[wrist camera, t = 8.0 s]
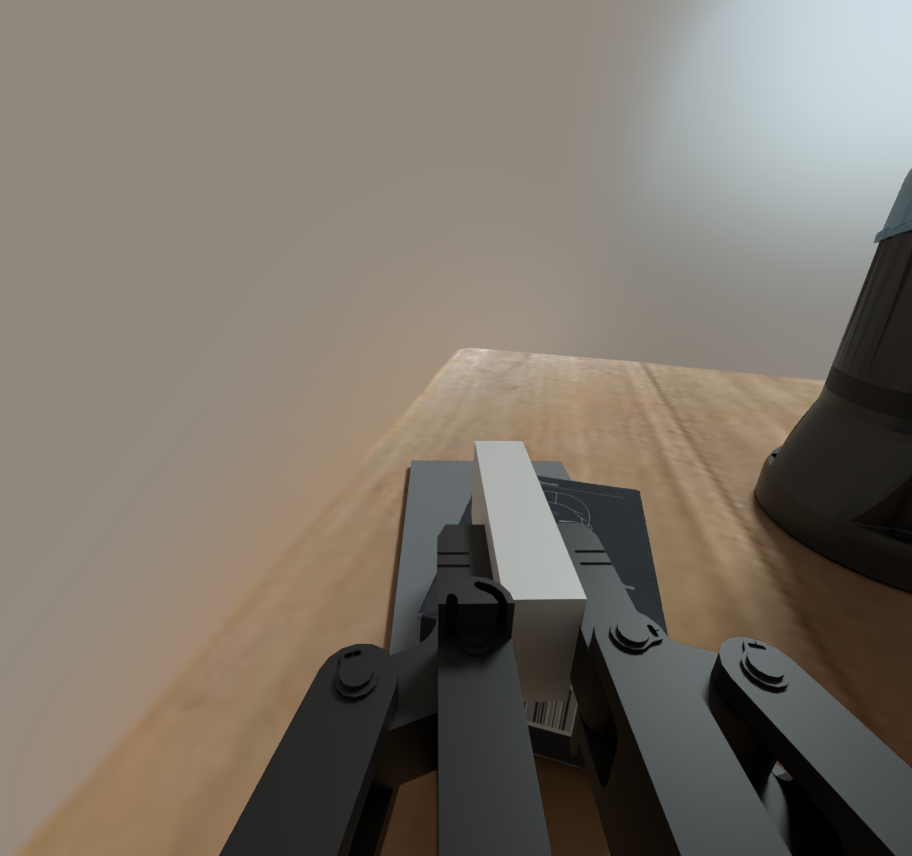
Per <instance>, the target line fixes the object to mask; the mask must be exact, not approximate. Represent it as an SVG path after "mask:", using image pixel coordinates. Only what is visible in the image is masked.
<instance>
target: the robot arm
mask: <svg viewBox="0 0 912 856" xmlns="http://www.w3.org/2000/svg"><path fill="white" fill-rule="evenodd" d="M877 242H879V245H878V248H877V250H876V253H875V256H874V258H873V261H872V263H871V266H870V269H869V271H868V274H867V276H866V279H865V281H864V284H863V287H862V289H861V292H860V294H859V297H858V299H857V302H856V305H855V307H854V310H853V312H852V315H851V318H850V320H849V323H848V325H847V328H846V330H845V333H844V336H843V338H842V341H841V343H840V346H839V348H838V351H837V353H836V356H835V359H834V362H833V364H832V367H831V370H830V372H829V375H828V377H827V380H826V382H825V385H824V387H823V390H822V392H821V394H820V396H819V398H818V399H817V400H816V402H815V403H814V404H813V405H812V406H811V408H810V409H809V410H808V411H807V412H806V414H805V415H804V416H803V417H802V418H801V420H800V421H799V422H798V424H797V425H796V426H795V427H794V429H793V430H792V431H791V433H790V434H789V436H788V437H787V439H786V440H785V442H784V444H783V446H781V447H779V448H777V449H775V450H774V451H773V452H772V453H771V454H770V455H769V456H768V457H767V459H766V461H765V462H764V464H763V467H762V470H761V473H760V476H759V479H758V482H757V485H756V489H755V492H756V497H757V499H758V501H759V503H760V505H761V506H762V508H763V509H764V510H765V512H766V513H767V514H768V515H769V516H770V517H771V518H772V519H773V520H774V521H775V522H776V523H777V524H779V525H780V526H781V527H782V528H784V529H785V530H786V531H787V532H789V533H790V534H791V535H793V536H794V537H796V538H797V539H799V540H800V541H802V542H803V543H805V544H807V545H808V546H810V547H812V548H813V549H815V550H817V551H818V552H820V553H822V554H824V555H826V556H828V557H829V558H831V559H833V560H835V561H837V562H839V563H841V564H843V565H846V566H848V567H850V568H852V569H854V570H856V571H859V572H861V573H863V574H865V575H868V576H870V577H873V578H875V579H878V580H880V581H883V582H886V583H888V584H891V585H894V586H896V587H899V588H902V589H905V590H908V591H911V592H912V169H911V170H910V171H909V173H908V175H907V176H906V178H905V180H904V182H903V184H902V187H901V189H900V191H899V193H898V196H897V198H896V200H895V203H894V205H893V207H892V209H891V212H890V214H889V216H888V219H887V221H886V224H885V225H884V228H883V230H882V231H880V232H878V234H877V235H876V237H875V241H874V243H877ZM471 515H472V524H445V526H444V528H443V529H442V531H441V532H440V534H439V535H438V537H437V621H436V625H435V627H434V629H433V631H432V633H431V634H430V635H429V636H428V637H427V638H426V639H425V640H424V641H423V642H421V643H420V644H419V645H417V646H415V647H413V648H410V649H408V650H406V651H402V652H399V653H396V654H393V655H390V654H389V653H388V652H387V651H386V650H385V649H383V648H380V647H378V646H375V645H373V644H355V645H352V646H349V647H345V648H342V649H341V650H339V651H338V652H336V653H335V654H333V655H332V656H330V657H329V658H328V659H327V661H326V662H325V663H324V664H323V666H322V667H321V668H320V669H319V671H318V673H317V675H316V677H315V679H314V680H313V682H312V684H311V686H310V688H309V690H308V692H307V693H306V695H305V697H304V699H303V701H302V703H301V705H300V706H299V708H298V710H297V712H296V714H295V716H294V718H293V719H292V721H291V723H290V725H289V727H288V729H287V730H286V732H285V734H284V736H283V738H282V740H281V742H280V743H279V745H278V747H277V749H276V751H275V753H274V755H273V756H272V758H271V760H270V762H269V764H268V766H267V768H266V769H265V771H264V773H263V775H262V777H261V779H260V781H259V782H258V784H257V786H256V788H255V790H254V792H253V794H252V795H251V797H250V799H249V801H248V803H247V805H246V807H245V808H244V810H243V812H242V814H241V816H240V818H239V819H238V821H237V823H236V825H235V827H234V829H233V831H232V832H231V834H230V836H229V838H228V840H227V842H226V844H225V845H224V847H223V849H222V851H221V853H220V855H219V856H380V854H381V850H382V847H383V843H384V839H385V836H386V832H387V829H388V825H389V822H390V818H391V814H392V811H393V807H394V804H395V800H396V797H397V793H398V789H399V786H400V785H402V784H404V783H406V782H409V781H411V780H413V779H416V778H418V777H420V776H423V775H425V774H427V773H430V772H432V771H434V770H436V792H437V856H552V852H551V847H550V842H549V836H548V831H547V826H546V820H545V815H544V810H543V804H542V799H541V794H540V788H539V783H538V778H537V772H536V767H535V762H534V756H533V751H532V745H531V740H530V735H529V729H528V724H527V719H526V713H525V708H524V703H523V702H547V701H568V696H569V691H570V686H571V684H572V687H573V691H574V694H575V697H576V701H577V704H578V706H577V711H576V716H575V721H574V725H573V730H572V735H571V740H570V751H571V755H577V750H578V746H579V743H580V746H581V750H582V754H583V757H584V761H585V764H586V768H587V772H588V775H589V779H590V783H591V786H592V790H593V793H594V797H595V801H596V804H597V808H598V811H599V815H600V819H601V822H602V826H603V829H604V833H605V837H606V840H607V844H608V848H609V851H610V855H611V856H912V768H911V767H910V766H909V765H908V764H907V763H906V762H904V761H903V760H902V759H901V758H900V757H899V756H898V755H897V754H896V753H895V752H893V751H892V750H891V749H890V748H889V747H888V746H887V745H886V744H885V743H884V742H882V741H881V740H880V739H879V738H878V737H877V736H876V735H875V734H874V733H872V732H871V731H870V730H869V729H868V728H867V727H866V726H865V725H864V724H863V723H861V722H860V721H859V720H858V719H857V718H856V717H855V716H854V715H853V714H852V713H850V712H849V711H848V710H847V709H846V708H845V707H844V706H843V705H842V704H841V703H839V702H838V701H837V700H836V699H835V698H834V697H833V696H832V695H831V694H830V693H828V692H827V691H826V690H825V689H824V688H823V687H822V686H821V685H820V684H819V683H817V682H816V681H815V680H814V679H813V678H812V677H811V676H810V675H809V674H807V673H806V672H805V671H804V670H803V669H802V668H801V667H800V666H799V665H798V664H796V663H795V662H794V661H793V660H792V659H790V658H789V657H788V656H786V655H785V654H784V653H782V652H781V651H780V650H778V649H777V648H775V647H773V646H770V645H768V644H766V643H764V642H762V641H760V640H755V639H751V638H747V637H732V638H730V639H728V640H726V641H724V642H723V643H722V645H721V647H720V650H719V653H716V652H712V651H708V650H704V649H700V648H696V647H692V646H688V645H684V644H681V643H678V642H675V641H672V640H670V639H669V638H668V636H667V635H666V634H665V632H664V631H663V630H662V629H661V627H660V626H659V625H658V624H657V623H655V622H654V621H653V620H651V619H650V618H648V617H647V616H646V615H643V614H641V613H638V612H637V610H636V608H635V606H634V605H633V603H632V601H631V599H630V597H629V595H628V593H627V591H626V589H625V587H624V586H623V584H622V582H621V580H620V578H619V576H618V574H617V572H616V570H615V569H614V567H613V565H611V561H610V559H609V557H608V555H607V553H605V550H604V548H603V546H602V544H601V542H600V540H599V538H598V536H597V535H596V534H595V533H594V532H592V531H591V530H590V529H589V528H588V527H587V526H585V525H584V524H583V523H556V522H555V520H554V517H553V515H552V512H551V510H550V507H549V505H548V502H547V500H546V498H545V495H544V493H543V490H542V488H541V485H540V483H539V480H538V478H537V476H536V473H535V471H534V468H533V466H532V463H531V461H530V458H529V456H528V454H527V451H526V449H525V446H524V444H523V441H475V449H474V470H473V490H472V511H471ZM777 760H778V762H779V763H780V764H781V765H782V766H783V767H784V768H785V770H786V771H787V772H788V773H789V774H790V775H789V774H788V773H786V772H785V771H784V770H783V769H782V768H781V767H780V766H779V765H778V764H777V763H776V762H777Z"/></svg>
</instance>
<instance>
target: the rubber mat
mask: <svg viewBox="0 0 912 856" xmlns="http://www.w3.org/2000/svg"><path fill="white" fill-rule="evenodd" d="M531 463H532V466H533V468H534V471H535V473H536V475H538V476H544V477H550V478H557V479H563V480H571V479H570V478H569V476H568V474H567V472H566V470H565V468H564V466H563V465H562V463H561V462H551V461H531ZM473 470H474V461H412V462H411V470H410V479H409V487H408V496H407V505H406V513H405V522H404V530H403V539H402V548H401V556H400V565H399V574H398V582H397V591H396V599H395V608H394V617H393V625H392V634H391V642H390V651H389V654H390V655H393V654H396V653H399V652H402V651H406V650H408V649H410V648H413V647H415V646H417V645H419V636H418V615H419V610H420V608H421V606H422V603H423V601H424V599H425V597H426V594H427V592H428V591H429V589H430V586H431V583H432V581H433V579H434V577H435V575H436V573H437V537H438V535H439V534H440V532H441V531H442V529H443V528H444V526H445V524H459V522H460V520H461V518H462V515H463V513H464V511H465V509H466V506H467V504H468V502H469V500H470V498H471V495H472V490H473Z"/></svg>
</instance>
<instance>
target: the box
mask: <svg viewBox="0 0 912 856" xmlns="http://www.w3.org/2000/svg"><path fill="white" fill-rule="evenodd" d="M536 476H537V478H538V480H539V483H540V485H541V488H542V490H543V493H544V495H545V498H546V500H547V502H548V505H549V507H550V510H551V512H552V515H553V517H554V520H555V522H556V523H583V524H584V525H585V526H587V527H588V528H589V529H590V530H591V531H592V532H594V533H595V534H596V535H597V536H598V538H599V540H600V542H601V544H602V546H603V548H604V550H605V553H607V555H608V557H609V559H610V561H611V565H613V567H614V569H615V570H616V572H617V574H618V576H619V578H620V580H621V582H622V584H623V586H624V587H625V589H626V591H627V593H628V595H629V597H630V599H631V601H632V603H633V605H634V606H635V608H636V610H637V612H638V613H641V614H643V615H646V616H647V617H648V618H650V619H651V620H653V621H654V622H655V623H657V624H658V625H659V626H660V627H661V629H662V630H663V631H664V632H665V634H666V635H667V629H666V624H665V619H664V614H663V610H662V603H661V598H660V593H659V588H658V583H657V578H656V573H655V568H654V563H653V557H652V553H651V547H650V542H649V537H648V532H647V526H646V521H645V516H644V512H643V506H642V501H641V496H640V491H638V490H633V489H627V488H618V487H611V486H605V485H597V484H590V483H583V482H576V481H571V480H563V479H557V478H550V477H544V476H538V475H536ZM471 511H472V495H471V498H470V500H469V502H468V504H467V506H466V509H465V511H464V513H463V515H462V518H461V520H460V522H459V524H472V515H471ZM436 621H437V573H436V575H435V577H434V579H433V581H432V583H431V586H430V589H429V591H428V592H427V594H426V597H425V599H424V601H423V603H422V606H421V608H420V610H419V615H418V636H419V644H420V643H421V642H423V641H424V640H425V639H426V638H427V637H428V636H429V635H430V634H431V633H432V631H433V629H434V627H435V625H436ZM667 636H668V635H667ZM523 703H524V708H525V713H526V719H527V724H528V729H529V735H530V740H531V745H532V751H533V754H535V755H538V756H543V757H545V758H548V759H552V760H555V761H559V762H562V763H565V764H568V765H571V766H574V767H578V768H581V769H585V770H587V768H586V764H585V761H584V757H583V754H582V750H581V746H580V743H579V746H578V750H577V755H571V751H570V740H571V735H572V730H573V725H574V721H575V716H576V711H577V706H578V704H577V701H576V697H575V694H574V691H573V687H572V684H571V686H570V691H569V696H568V701H547V702H523Z"/></svg>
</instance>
